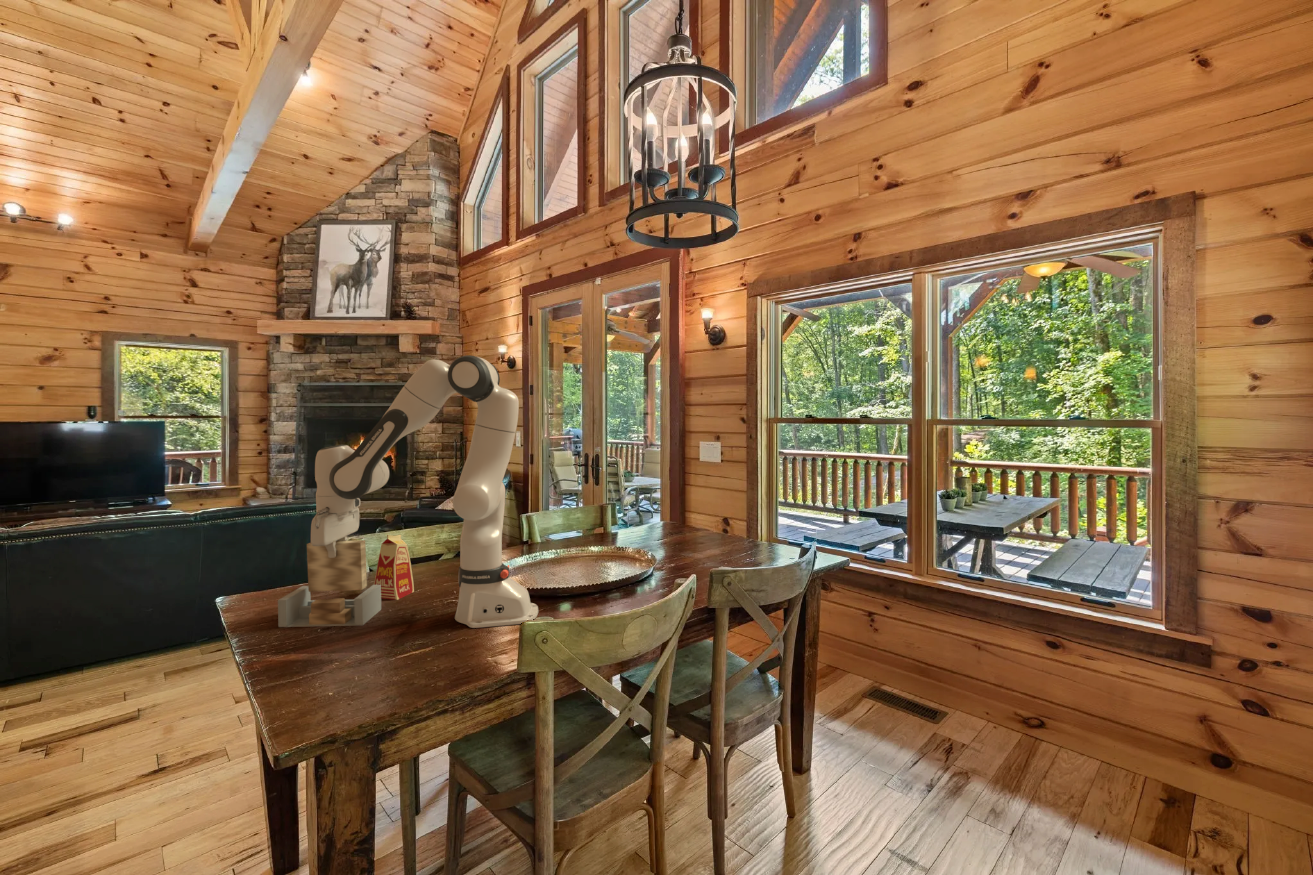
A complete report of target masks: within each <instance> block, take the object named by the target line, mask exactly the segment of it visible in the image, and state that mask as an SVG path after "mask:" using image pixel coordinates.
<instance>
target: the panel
mask: <svg viewBox="0 0 1313 875" xmlns="http://www.w3.org/2000/svg"><path fill="white" fill-rule="evenodd" d="M335 548H336V550H337V551H338V553H337V554H338V555H337V556H336V557H334V558H329V557H328V551H327V549H326V547H325V546H313V545H312V544H311V541H310V542H309V543H306V560H307V562H306V563H307V581H308V584H307V586H308V588H309V592H310V593H312V592H336V591H337V592H339V591H345V592H346V591H363V590H364V589H366V588H367V587H368V582H367V580H368V579H367V552H366V548H367V547H366V540H365V539H359V540H357V539H356V540H347V541H338V540H337V541H336V545H335Z"/></svg>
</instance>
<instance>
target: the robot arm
mask: <svg viewBox="0 0 1313 875" xmlns="http://www.w3.org/2000/svg"><path fill="white" fill-rule="evenodd" d="M500 378H501V377H500V373H499V371H498V368H496V366H495V365H494V364H493V363H491V362H490V361H488V360H486V359H485V358H482V357H480V356H475V355H470V354H469V355H467V354H466V355H462V356H459V357H457V358H456V359H455V360H453V361H452V362H451V363H450V364H449V363H447V362H446V361H443V360H440V359H434V358H433V359H429V360H427V361H425V362H424V363H423V364H422V365H421V366H420V367H418V368H417V369H416V371H415V372H414V373H413V374H412V375H411V377H409V379H407V382H406V383H405V384H404V386H403V387H401V389H400V390H399V393H398V394H397V395H396V397H395V398H394V400H393V401H392V403H391V405H390V406H389V408H388V409H387V410H386V411H385V413H384V414H383V415H382V417H381V418H380V419H379V421H378V422H377V423H376V424H375V425H374V426H373V428H372V429H371V431H370V432H369V433H368V434H367V436H366V437H364V439H363V440H362V441H361V443H360V444H359V445H358V446H357V447H356V449H353V448H351V446H349V445H347V444H338V445H337V444H336V445H333V446H332V445H331V446H326V447H322V448H321V449H319V450H318V451H317V453H316V456H315V460H314V477H315V478H314V480H315V482H316V492H315V504H316V505H315V506H316V507H315V508H316V514H315V515H314V517H313V518H312V520H311V524H310V542H311V544H312V545H313V546H325V547H326V549H327V551H328V557H329V558H334V557H336V556H337V555H338V554H337V553H338V551H337V550H336V548H335V545H336V541H348V536H349V535H352V534H354V533H356V532H358V530H359V527H360V508H359V507H360V506H361V499H360V498H362V496H364V495H366V494H369V493H373V492H375V491H377V490H379V489H381V488H382V487H384V486H386V484H387V483H388V481H389V480H390V468H389V465H388V464H387V463H386V461H384V460H383V459H384V457H386V455H387V454H388V452H389V451H390V450H391V448H392V447H393V446H394V445H395V444H396V443H397V442H398V441H400V440H401V439H402V438H403V437H406V436H407V435H410V434H411V433H413V432H416V431H419V430H420V429H422V428H424V427H426V426H427V425H428V424H429V423H430V422H431V421H433V419H434V418H435V417H436V416H437V415H438V413H439V412H440V411H441V409H442V408H443V406H444V405H445V403H446V402H447V401H448V400H449V398H450V397H451V396H453V395H454V394H459V395H461V396H463V397H465V398H467V399H468V400H469V401H470V400H471V401H472V402H474V403H476V404H477V405H476V406H477V414H476V419H475V422H474V427H473V432H472V436H471V441H470V446H469V450H468V453H467V457H466V460H465V463H464V465H463V467H462V470H461V474H460V477H459V480H458V482H457V483H458V484H457V486H456V490H455V492H454V495H453V497H452V507H453V510H454V512H455V513H456V514H457V516H459V517H460V518H462V520H463V523H462V530H461V535H460V539H459V543H460V544H459V545H460V548H459V550H460V553H459V555H460V560H459V562H460V566H459V567H458V577H457V578H458V579H457V580H458V586H459V593H458V594H459V595H458V601H457V608H456V611H455V615H454V619H455V621H456V622H458V623H461V624H464V625H466V626H468V627H469V628H472V629H475V628H476V629H478V628H489V627H501V626H511V625H512V626H513V625H520V624H521V623H522V622H525V621H527V620H532V621H534V620H535V619H536V618H537V617H538V614H539V606H538V605H537V604H536V603H533V602H531V598H530V593H529V591H528V590H527V588H526V587H525V586H523V585H522V584H520V583H519V582H517V581H516V580H515V579H513V578H511V577H510V565H509V564H507V565H505V563H503V549H502V548H503V544H502V542H503V527H504V520H505V519H504V517H505V507H506V506H505V505H506V504H505V503H506V487H505V484H504V482H503V480H504V477H505V474H506V472H507V469H508V465H509V462H510V460H511V456H512V451H513V446H514V443H515V442H514V441H515V437H516V433H517V428H518V421H519V411H520V409H519V408H520V407H519V406H520V404H519V403H520V402H519V397H518V396H517V395H516V393H515V392H513V391H512V390H510V389H507V388H505V387H502V386H500V381H501V379H500ZM533 619H534V620H533ZM521 625H522V624H521Z"/></svg>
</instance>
